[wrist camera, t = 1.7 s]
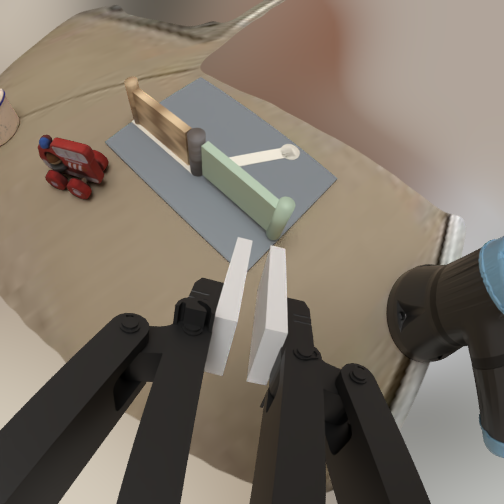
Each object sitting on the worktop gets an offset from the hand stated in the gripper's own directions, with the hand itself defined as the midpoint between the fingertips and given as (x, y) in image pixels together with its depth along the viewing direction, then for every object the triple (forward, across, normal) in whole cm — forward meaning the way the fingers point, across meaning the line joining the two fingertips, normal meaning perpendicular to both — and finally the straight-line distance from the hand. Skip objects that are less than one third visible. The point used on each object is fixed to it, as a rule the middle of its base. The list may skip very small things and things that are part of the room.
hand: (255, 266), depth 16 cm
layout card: (+35, -8, -2) cm, 36 cm away
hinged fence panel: (+29, -3, -6) cm, 30 cm away
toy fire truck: (+29, -29, -8) cm, 42 cm away
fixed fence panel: (+35, -17, -1) cm, 39 cm away
